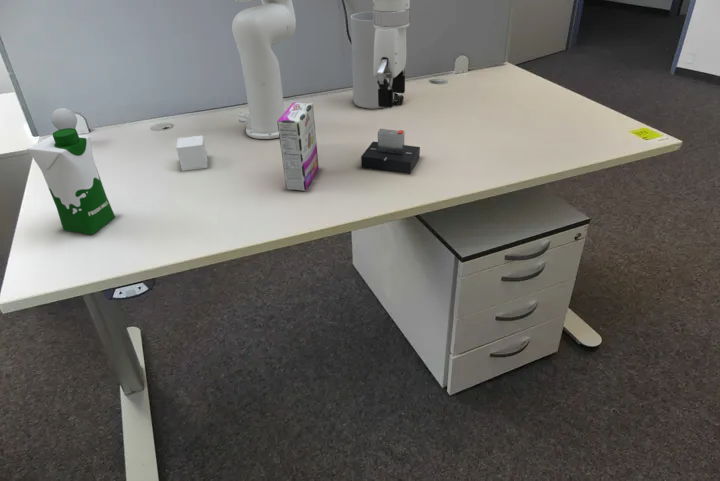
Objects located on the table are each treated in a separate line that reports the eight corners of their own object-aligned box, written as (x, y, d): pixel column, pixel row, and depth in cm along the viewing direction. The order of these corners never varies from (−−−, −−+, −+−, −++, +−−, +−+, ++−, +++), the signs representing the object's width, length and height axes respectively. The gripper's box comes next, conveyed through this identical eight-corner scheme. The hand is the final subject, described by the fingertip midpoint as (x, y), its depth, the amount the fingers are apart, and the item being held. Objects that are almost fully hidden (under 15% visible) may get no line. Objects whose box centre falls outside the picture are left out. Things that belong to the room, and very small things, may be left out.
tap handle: (377, 151, 124) (377, 130, 121) (380, 148, 126) (380, 127, 123) (402, 154, 122) (402, 133, 119) (404, 151, 124) (404, 130, 121)
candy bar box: (299, 168, 125) (292, 101, 115) (319, 169, 124) (314, 102, 115) (284, 190, 116) (275, 119, 106) (306, 192, 115) (299, 121, 106)
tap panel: (360, 168, 123) (360, 156, 122) (373, 151, 131) (373, 139, 130) (409, 175, 120) (409, 163, 118) (420, 157, 128) (420, 145, 126)
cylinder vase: (374, 93, 168) (373, 9, 154) (402, 102, 160) (404, 15, 146) (345, 102, 161) (341, 16, 147) (373, 112, 153) (372, 22, 139)
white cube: (207, 167, 126) (202, 144, 123) (181, 171, 125) (176, 148, 122) (207, 157, 131) (202, 135, 128) (182, 160, 130) (177, 138, 127)
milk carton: (93, 238, 102) (56, 143, 90) (55, 232, 104) (15, 138, 93) (122, 215, 109) (91, 124, 97) (86, 210, 111) (52, 120, 100)
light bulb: (89, 144, 140) (76, 108, 134) (66, 151, 137) (53, 114, 131) (79, 138, 143) (67, 103, 138) (57, 145, 140) (44, 109, 134)
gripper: (386, 9, 115) (387, 86, 125) (360, 26, 102) (363, 111, 111) (419, 10, 113) (417, 88, 123) (397, 27, 100) (397, 114, 109)
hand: (392, 99), depth 117 cm, fingers open, 9 cm apart
